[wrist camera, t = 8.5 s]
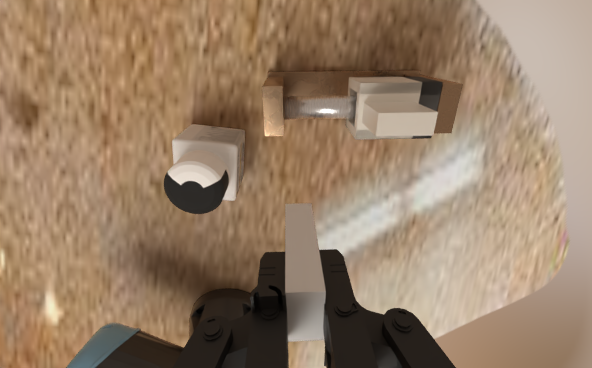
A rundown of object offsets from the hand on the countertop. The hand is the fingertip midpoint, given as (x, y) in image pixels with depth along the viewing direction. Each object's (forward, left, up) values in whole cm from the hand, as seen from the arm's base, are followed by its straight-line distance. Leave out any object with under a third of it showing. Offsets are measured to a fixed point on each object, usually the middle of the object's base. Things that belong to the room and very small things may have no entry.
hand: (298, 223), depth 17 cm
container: (-11, -5, -27) cm, 29 cm away
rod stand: (+7, +3, -26) cm, 27 cm away
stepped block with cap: (+10, +3, -20) cm, 22 cm away
